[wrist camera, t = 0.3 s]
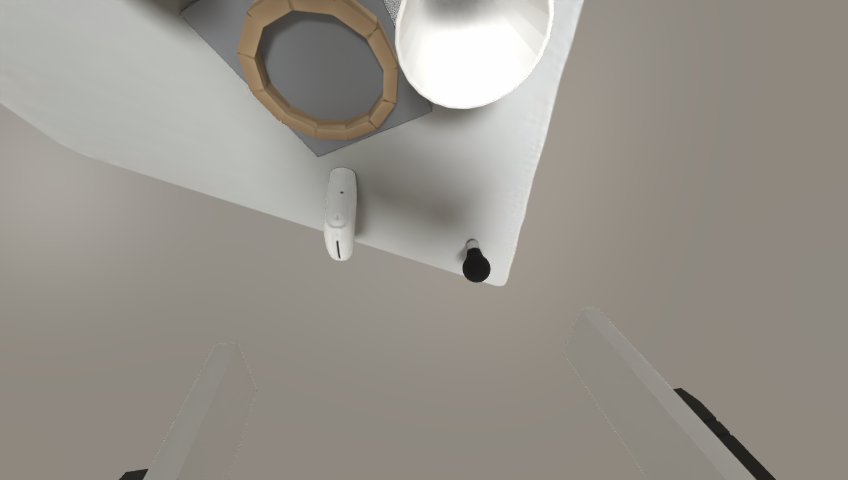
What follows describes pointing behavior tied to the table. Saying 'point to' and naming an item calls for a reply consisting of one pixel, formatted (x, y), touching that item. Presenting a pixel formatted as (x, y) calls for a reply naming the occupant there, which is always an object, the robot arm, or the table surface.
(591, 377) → the robot arm
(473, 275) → the light bulb
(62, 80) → the table surface
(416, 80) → the cup
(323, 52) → the collar mat
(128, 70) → the table surface
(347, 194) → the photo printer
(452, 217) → the table surface
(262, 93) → the collar ring
